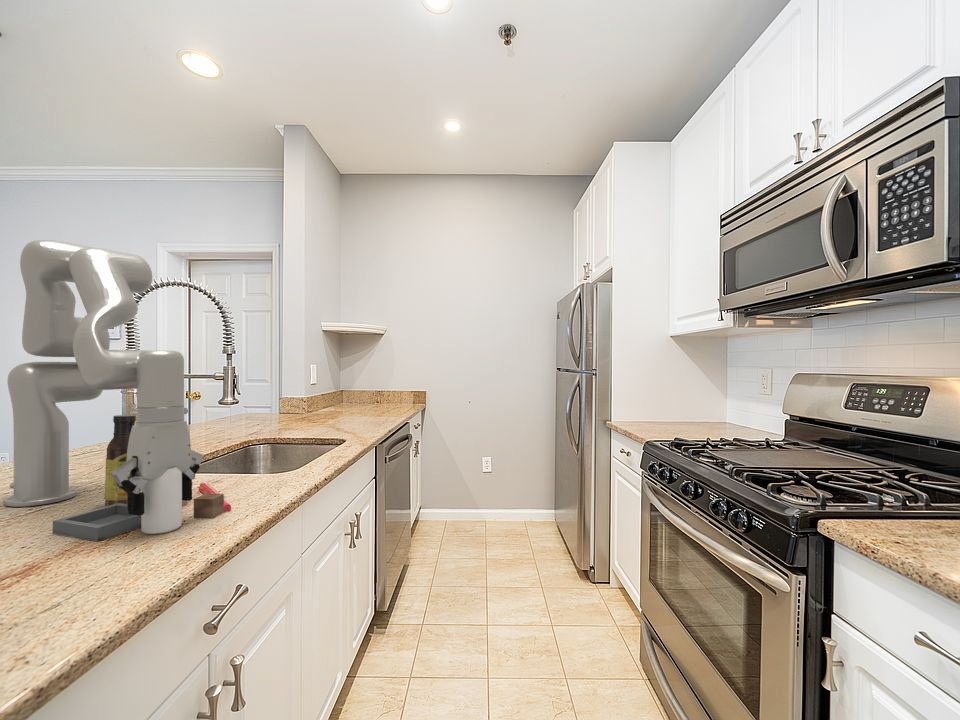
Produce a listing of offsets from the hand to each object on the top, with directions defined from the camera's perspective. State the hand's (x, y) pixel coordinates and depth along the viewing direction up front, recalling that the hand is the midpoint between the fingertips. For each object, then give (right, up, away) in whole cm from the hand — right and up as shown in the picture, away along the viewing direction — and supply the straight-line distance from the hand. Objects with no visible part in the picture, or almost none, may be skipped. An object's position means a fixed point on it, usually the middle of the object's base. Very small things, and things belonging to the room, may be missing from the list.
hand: (161, 506), depth 93 cm
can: (0, -5, +1) cm, 5 cm away
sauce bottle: (-19, -5, +16) cm, 25 cm away
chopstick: (-1, -5, +21) cm, 21 cm away
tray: (-11, -4, +2) cm, 12 cm away
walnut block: (+4, -5, +9) cm, 11 cm away
